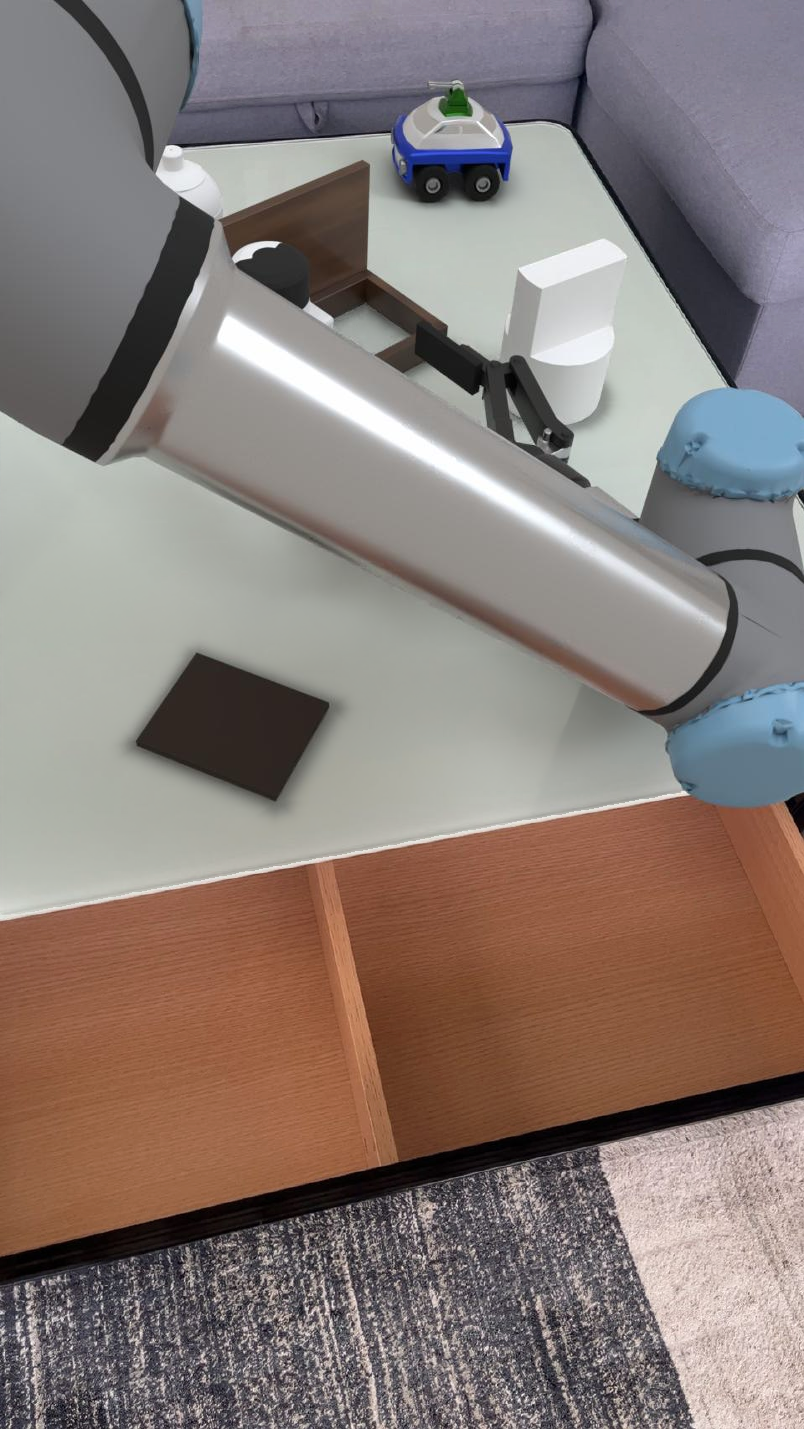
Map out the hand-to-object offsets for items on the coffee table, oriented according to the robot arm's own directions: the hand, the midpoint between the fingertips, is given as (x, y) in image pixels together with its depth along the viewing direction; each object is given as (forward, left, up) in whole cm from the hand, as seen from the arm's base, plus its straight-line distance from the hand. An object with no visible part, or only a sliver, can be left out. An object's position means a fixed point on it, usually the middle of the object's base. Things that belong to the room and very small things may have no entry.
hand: (352, 371), depth 80 cm
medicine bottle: (-9, +4, -8) cm, 12 cm away
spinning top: (-23, +14, -8) cm, 28 cm away
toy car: (-8, +42, -8) cm, 43 cm away
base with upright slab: (+12, +14, -8) cm, 20 cm away
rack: (-7, +8, -7) cm, 13 cm away
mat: (+4, -28, -7) cm, 29 cm away
